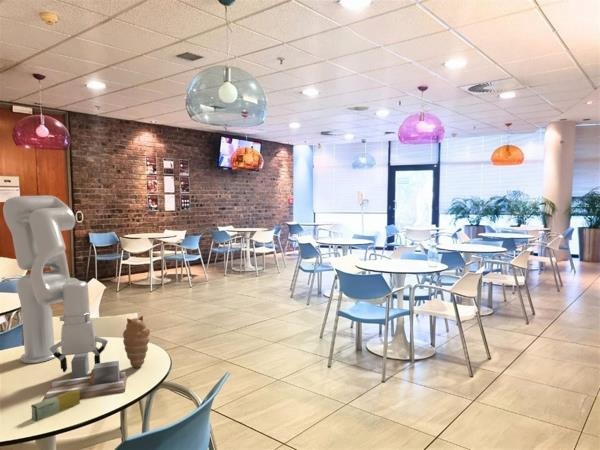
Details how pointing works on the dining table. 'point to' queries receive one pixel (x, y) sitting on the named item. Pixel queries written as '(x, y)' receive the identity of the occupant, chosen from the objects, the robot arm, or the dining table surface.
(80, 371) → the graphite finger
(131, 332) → the cat ice cream
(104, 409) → the dining table surface
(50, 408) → the medication box
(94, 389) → the rail mount
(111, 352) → the dining table surface
